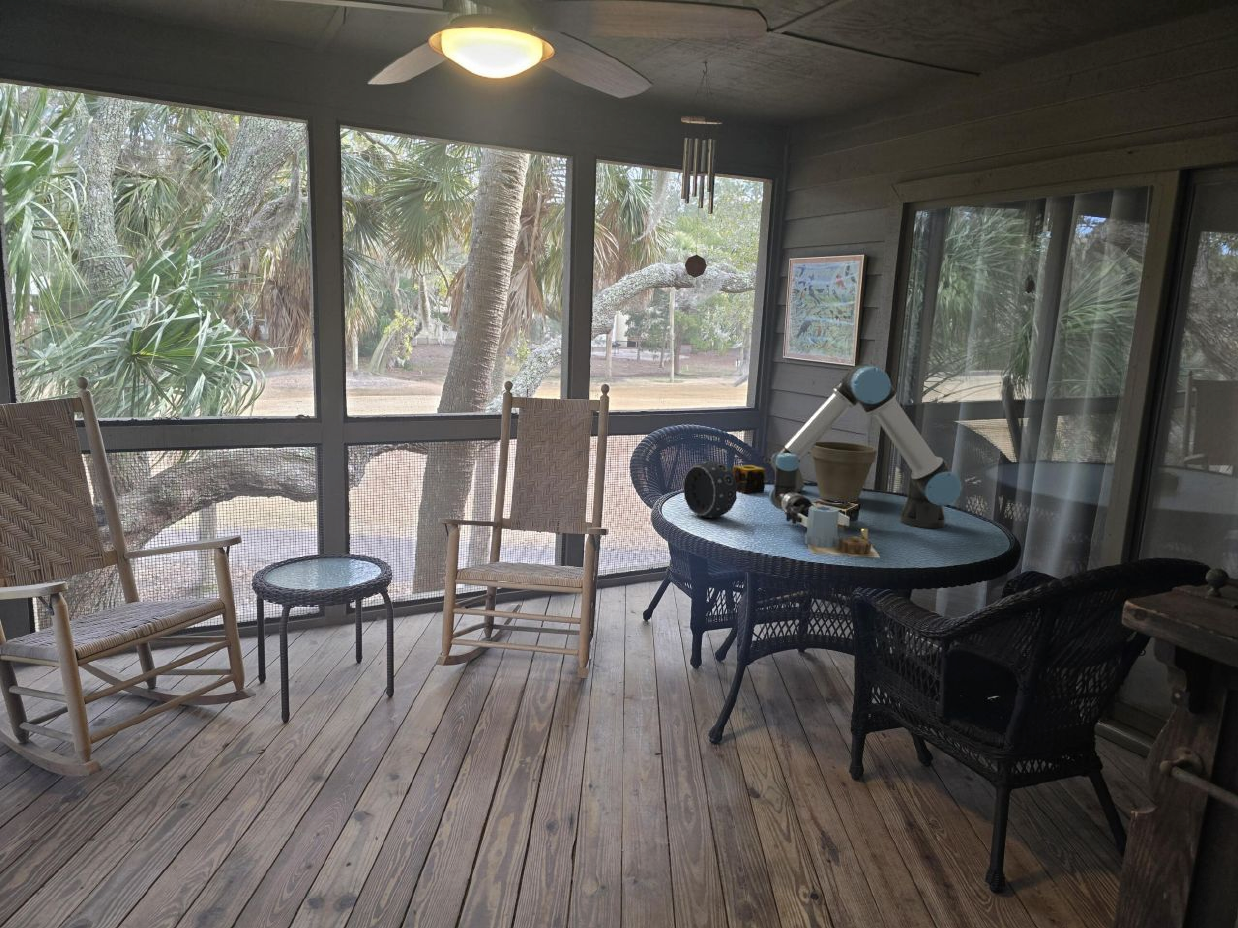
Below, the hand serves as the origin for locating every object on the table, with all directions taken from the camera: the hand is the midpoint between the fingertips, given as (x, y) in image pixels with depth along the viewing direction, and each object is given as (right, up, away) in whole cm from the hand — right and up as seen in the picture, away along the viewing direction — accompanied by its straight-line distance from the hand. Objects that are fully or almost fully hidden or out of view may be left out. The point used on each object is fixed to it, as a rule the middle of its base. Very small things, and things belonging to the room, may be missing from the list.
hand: (828, 522), depth 246 cm
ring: (-32, -1, +39) cm, 51 cm away
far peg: (+12, -7, +4) cm, 15 cm away
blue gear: (-1, -7, +5) cm, 8 cm away
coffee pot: (+3, +6, +85) cm, 85 cm away
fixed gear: (+7, -8, -3) cm, 11 cm away
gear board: (+4, -9, +1) cm, 10 cm away
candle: (-11, +7, +84) cm, 85 cm away
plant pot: (+24, +4, +74) cm, 78 cm away
